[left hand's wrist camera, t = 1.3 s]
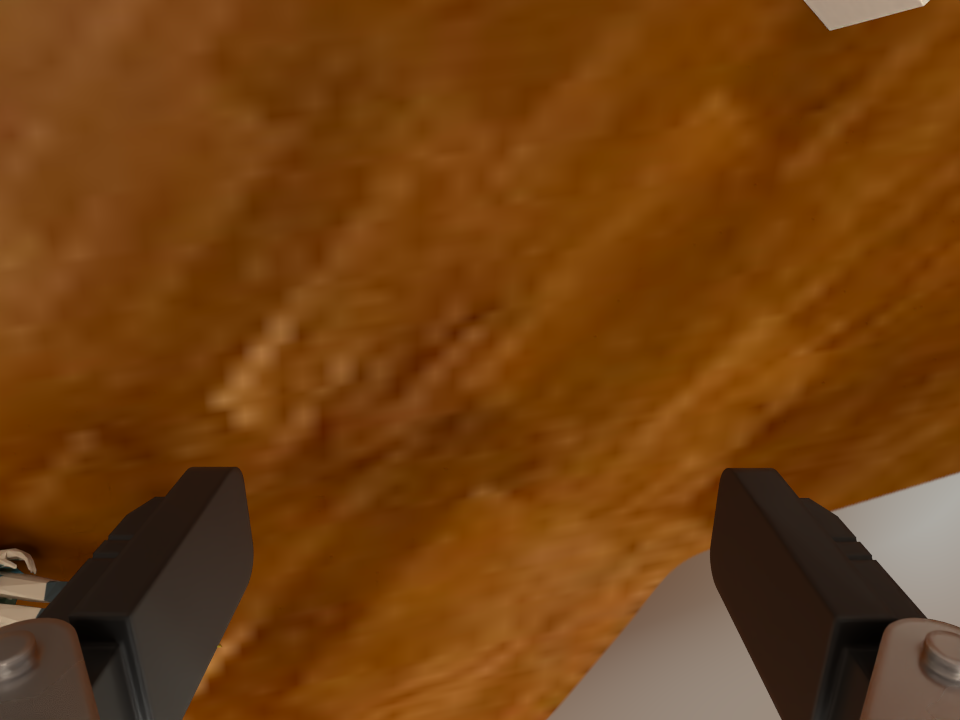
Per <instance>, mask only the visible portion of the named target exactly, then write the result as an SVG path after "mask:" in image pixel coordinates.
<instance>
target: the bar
mask: <svg viewBox="0 0 960 720" xmlns="http://www.w3.org/2000/svg"><path fill="white" fill-rule="evenodd" d="M804 1H805V2H806V3H807V5H808V6H809V7H810V8H811V9H812V10H813V12H814V13H815V14H816V15H817V16H818V17H819V19H820V20H821V21H822V22H823V23H824V25H825V26H826V27H827V28H828V29H829V30H834V29H838V28H842V27H845V26H849V25H853V24H857V23H860V22H864V21H868V20H872V19H876V18H879V17H883V16H887V15H891V14H894V13H898V12H902V11H906V10H909V9H913V8H917V7H921V6H924V5H925V4H926V3H927V2H928V1H929V0H804Z"/></svg>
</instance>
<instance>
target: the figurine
mask: <svg viewBox="0 0 960 720" xmlns="http://www.w3.org/2000/svg"><path fill="white" fill-rule="evenodd" d="M8 560H25V562H26V564H27V567H28V569H29V570H31V573H32V571H33V572H34V574H36V567H35V564H34V561H33V559H32V557H31V555H30V554H28V553H26V552H24V551H22V550H19V549H16V548H13V549H6V550H0V627H3V626H6V625H9V624H12V623H15V622H19V621H23V620H28V619H35V618H38V616H39V615H40V614H41V613H42V612H43V611H44V610H45V609H43V608H36V607H30V606H21V605H15V604H16V601H17V599H19V600H25V601H33V602H48V603H51V601H52V600H53V599H54V598H55V597H56V596H57V595H58V593H59V592H60V591H61V590H62V589H63V588H64V587H65V585H66V584H67V583H68V582H61V581H57V580H52V579H48V578H43V577H39V576H34V575H29V574H23V573H22V572H21V571H20V570H19V569H17V565H16V564H14V563H12V562H11V561H8ZM4 566H9V567H4ZM218 647H222V646H221V645H220V644H219V645H218Z"/></svg>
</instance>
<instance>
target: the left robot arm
mask: <svg viewBox="0 0 960 720" xmlns="http://www.w3.org/2000/svg"><path fill="white" fill-rule="evenodd" d="M710 563H711V571H712V576H713V579H714V583H715V585H716V588H717V590H718V592H719V594H720V596H721V598H722V600H723V602H724V604H725V606H726V608H727V610H728V612H729V614H730V616H731V618H732V620H733V622H734V624H735V626H736V628H737V630H738V632H739V634H740V636H741V638H742V640H743V642H744V644H745V646H746V648H747V650H748V652H749V654H750V656H751V658H752V661H753V662H754V664H755V667H756V669H757V671H758V673H759V675H760V677H761V679H762V681H763V683H764V685H765V687H766V689H767V691H768V693H769V695H770V697H771V699H772V701H773V703H774V705H775V707H776V709H777V711H778V713H779V715H780V717H781V719H782V720H960V627H957V626H954V625H951V624H948V623H945V622H941V621H937V620H932V619H927V618H926V616H925V615H924V614H923V613H922V612H921V611H920V610H919V608H918V607H917V606H916V605H915V604H914V603H913V602H912V600H911V599H910V598H909V597H908V596H907V595H906V594H905V592H904V591H903V590H902V589H901V588H900V587H899V586H898V585H897V583H896V582H895V581H894V580H893V579H892V578H891V577H890V575H889V574H888V573H887V572H886V571H885V570H884V569H883V567H882V566H881V565H880V564H879V563H878V562H877V561H876V560H872V555H871V554H870V553H869V552H868V550H867V549H866V548H865V547H864V546H863V545H862V544H861V542H857V541H856V537H855V536H854V534H853V533H852V532H851V531H850V530H849V529H848V528H847V527H846V525H845V524H844V523H843V522H842V521H841V520H840V519H839V517H838V516H836V515H835V514H833V513H831V512H830V511H828V510H827V509H825V508H824V507H822V506H820V505H819V504H817V503H816V502H814V501H812V500H811V499H809V498H799V497H798V496H797V495H796V494H795V492H794V491H793V490H792V489H791V488H790V486H789V485H788V484H787V483H786V482H785V480H784V479H783V478H782V477H781V475H780V474H779V473H778V472H777V471H776V470H775V469H773V468H727V469H725V470H724V471H723V473H722V475H721V478H720V483H719V490H718V497H717V504H716V511H715V518H714V525H713V532H712V539H711V547H710ZM252 566H253V542H252V535H251V528H250V520H249V513H248V506H247V499H246V492H245V485H244V479H243V475H242V473H241V471H240V469H239V468H238V467H191V468H189V469H188V470H187V471H186V472H185V473H184V474H183V476H182V477H181V478H180V479H179V480H178V482H177V483H176V484H175V485H174V487H173V488H172V489H171V490H170V492H169V493H168V494H167V495H166V496H165V497H154V498H153V499H151V500H150V501H148V502H147V503H145V504H143V505H142V506H140V507H139V508H137V509H135V510H134V511H132V512H131V513H129V514H128V515H126V517H125V518H124V519H123V520H122V521H121V522H120V523H119V525H118V526H117V527H116V528H115V529H114V530H113V531H112V533H111V534H110V535H109V538H108V540H105V541H104V542H103V543H102V544H101V545H100V546H99V548H98V549H97V550H96V551H95V552H94V553H93V558H89V559H88V560H87V561H86V562H85V564H84V565H83V566H82V567H81V568H80V569H79V570H78V572H77V573H76V574H75V575H74V576H73V577H72V579H71V580H70V581H69V582H68V583H67V584H66V585H65V587H64V588H63V589H62V590H61V591H60V592H59V593H58V595H57V596H56V597H55V598H54V599H53V600H52V601H51V603H50V604H49V605H48V606H47V607H46V608H45V610H44V611H43V612H42V613H41V614H40V615H39V616H38V618H35V619H28V620H23V621H19V622H15V623H12V624H9V625H6V626H3V627H0V720H182V718H183V716H184V714H185V712H186V710H187V708H188V706H189V704H190V702H191V700H192V698H193V696H194V694H195V692H196V690H197V688H198V686H199V684H200V682H201V680H202V678H203V675H204V673H205V671H206V669H207V667H208V665H209V663H210V661H211V659H212V657H213V655H214V653H215V651H216V649H217V647H218V645H219V643H220V641H221V639H222V637H223V635H224V632H225V630H226V628H227V626H228V624H229V622H230V620H231V618H232V616H233V614H234V612H235V610H236V608H237V606H238V604H239V602H240V600H241V598H242V596H243V594H244V592H245V590H246V587H247V585H248V583H249V580H250V576H251V572H252Z"/></svg>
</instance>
